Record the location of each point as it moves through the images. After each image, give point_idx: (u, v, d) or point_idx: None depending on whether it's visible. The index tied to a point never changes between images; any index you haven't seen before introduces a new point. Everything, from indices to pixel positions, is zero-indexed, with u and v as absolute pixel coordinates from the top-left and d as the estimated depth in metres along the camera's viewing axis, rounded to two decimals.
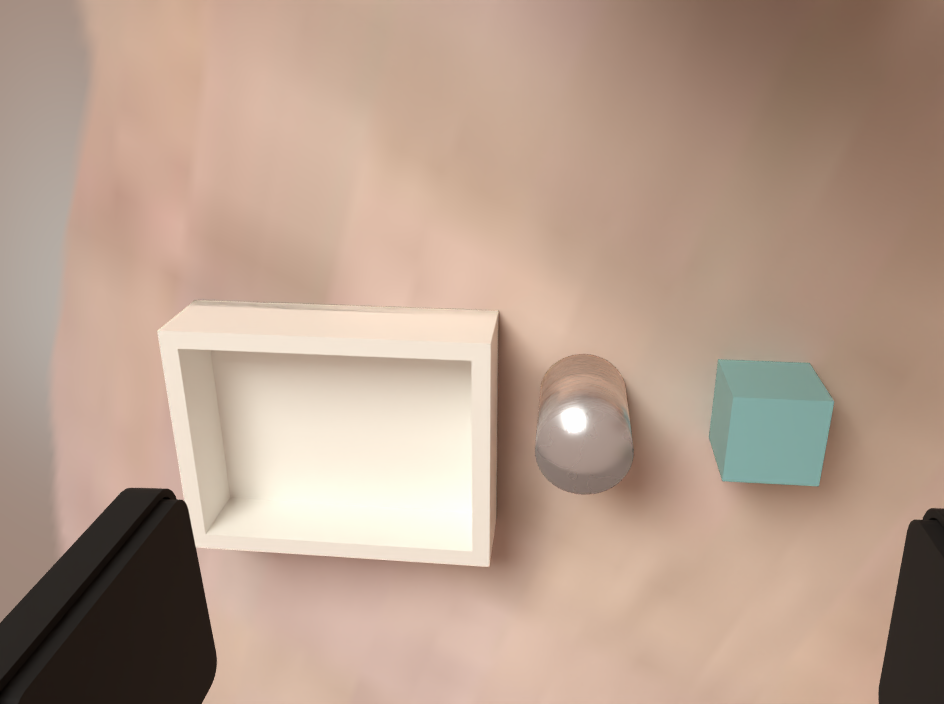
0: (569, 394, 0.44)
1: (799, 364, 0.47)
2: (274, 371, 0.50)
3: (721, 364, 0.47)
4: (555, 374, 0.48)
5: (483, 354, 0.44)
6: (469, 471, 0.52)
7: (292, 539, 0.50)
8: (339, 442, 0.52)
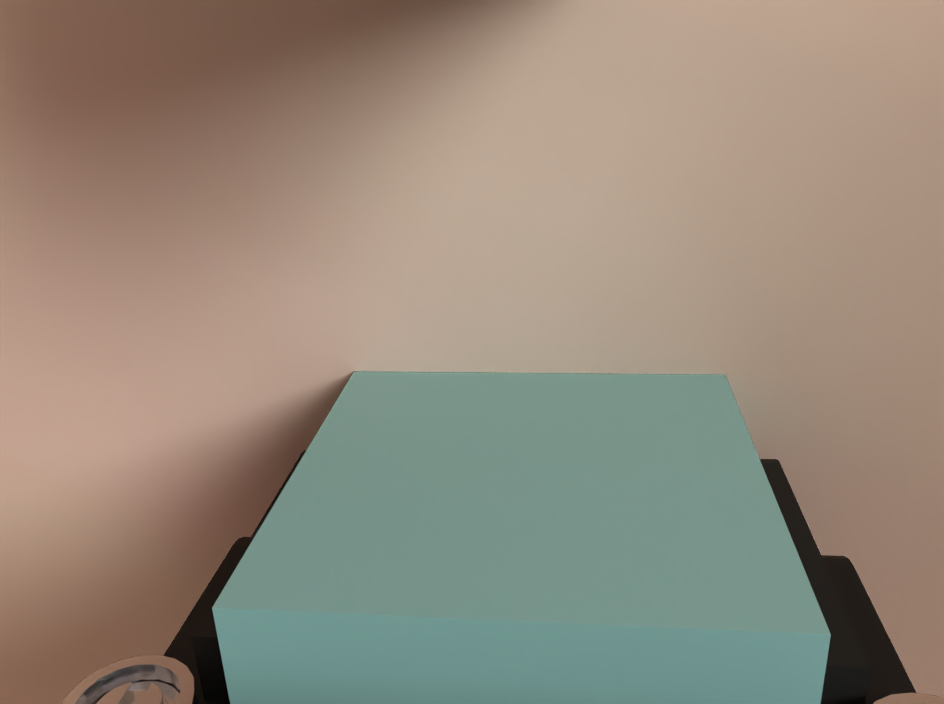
0: None
1: None
2: None
3: (735, 404, 0.10)
4: None
5: None
6: None
7: None
8: None
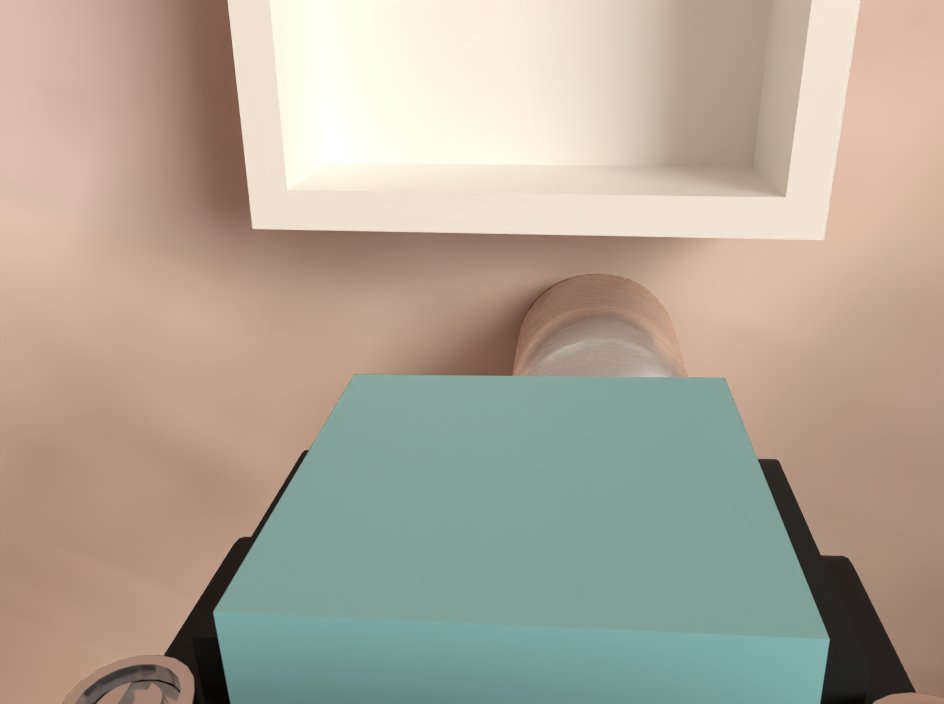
0: None
1: None
2: None
3: (734, 407, 0.10)
4: (663, 319, 0.25)
5: (798, 224, 0.20)
6: (426, 142, 0.24)
7: None
8: None
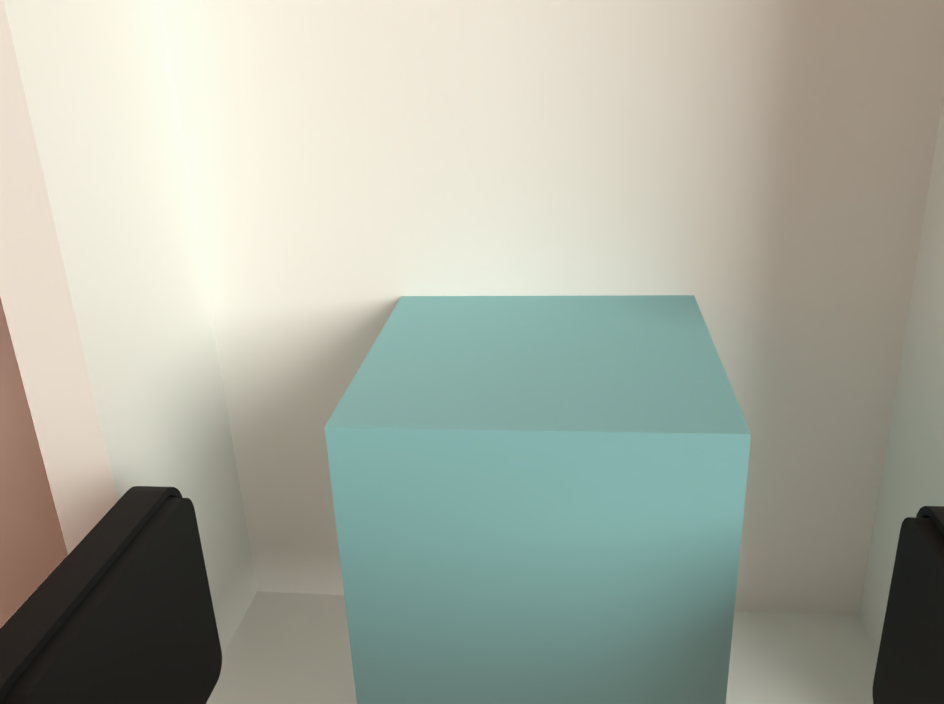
0: None
1: None
2: None
3: (700, 314, 0.14)
4: None
5: None
6: None
7: (19, 62, 0.10)
8: (447, 175, 0.14)
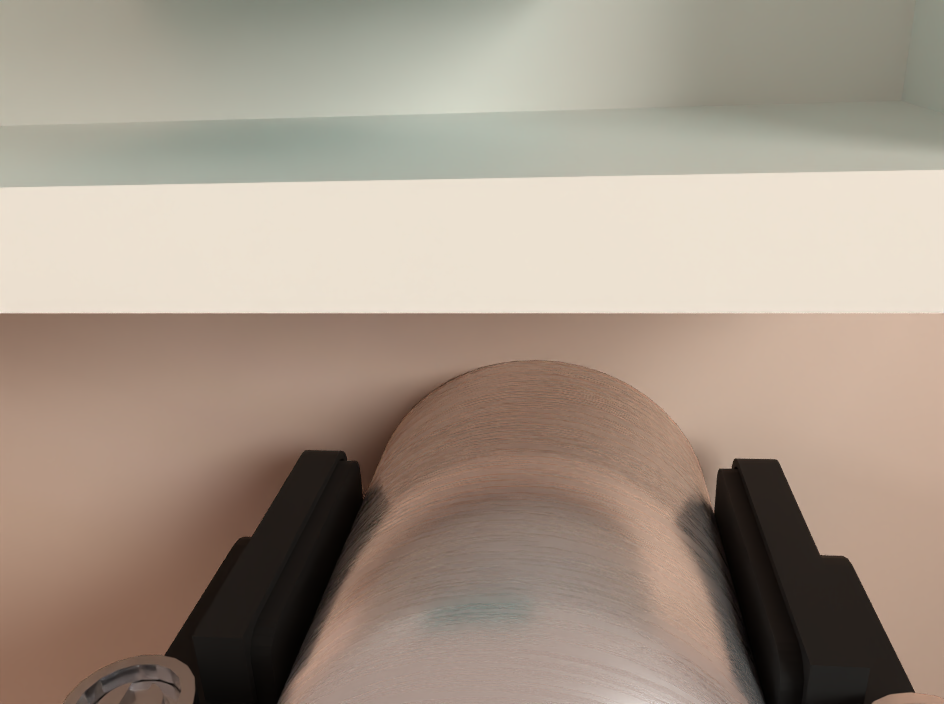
0: None
1: None
2: None
3: None
4: (682, 477, 0.10)
5: None
6: (91, 70, 0.10)
7: None
8: None
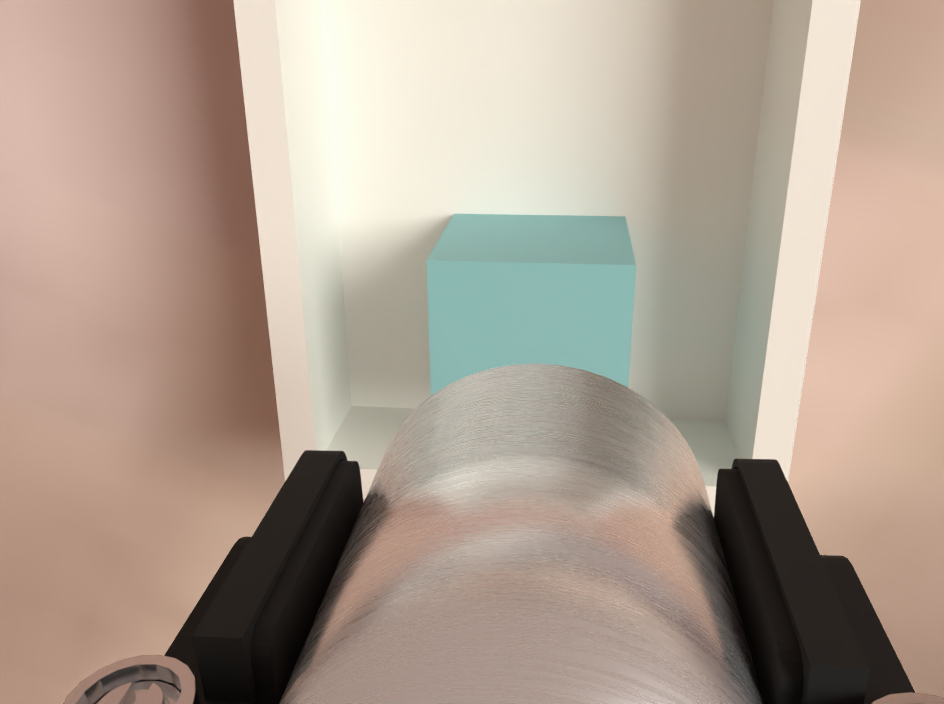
0: None
1: None
2: (656, 1, 0.22)
3: (626, 225, 0.24)
4: (683, 480, 0.10)
5: None
6: None
7: (280, 73, 0.20)
8: (484, 142, 0.24)
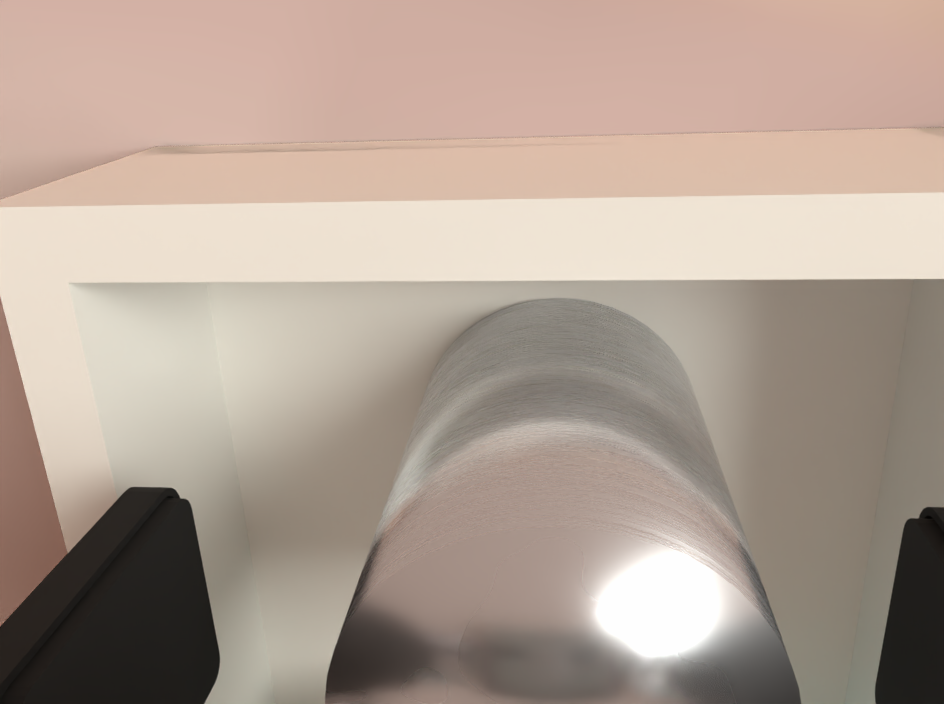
0: None
1: None
2: (714, 416, 0.15)
3: None
4: (677, 381, 0.13)
5: None
6: None
7: None
8: None
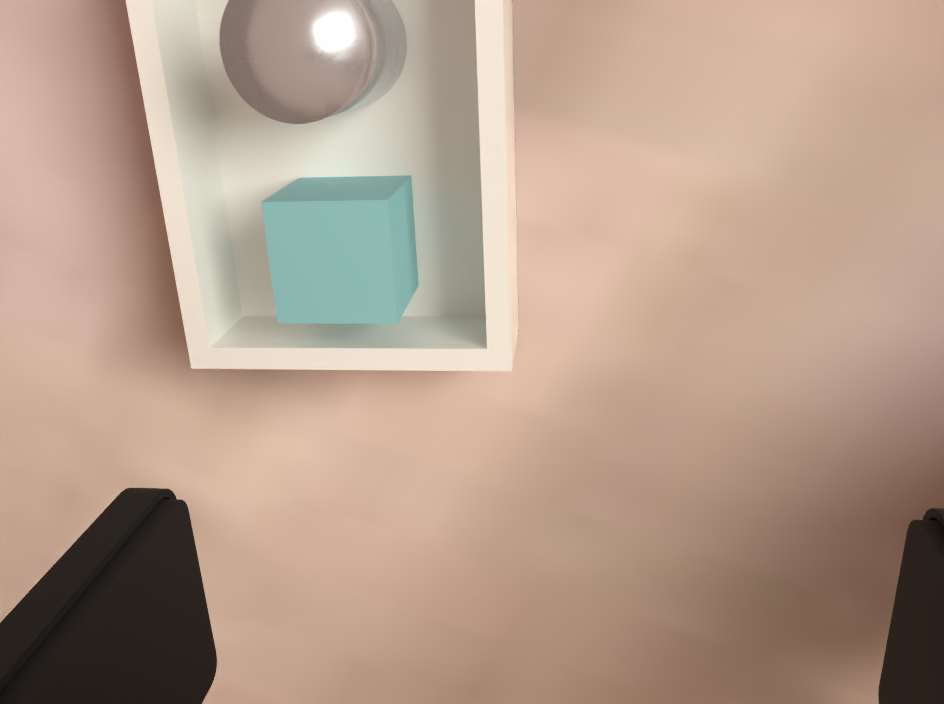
0: (368, 12, 0.30)
1: (416, 275, 0.38)
2: (413, 33, 0.35)
3: (407, 180, 0.36)
4: None
5: (496, 362, 0.35)
6: None
7: (165, 87, 0.33)
8: (314, 128, 0.36)
